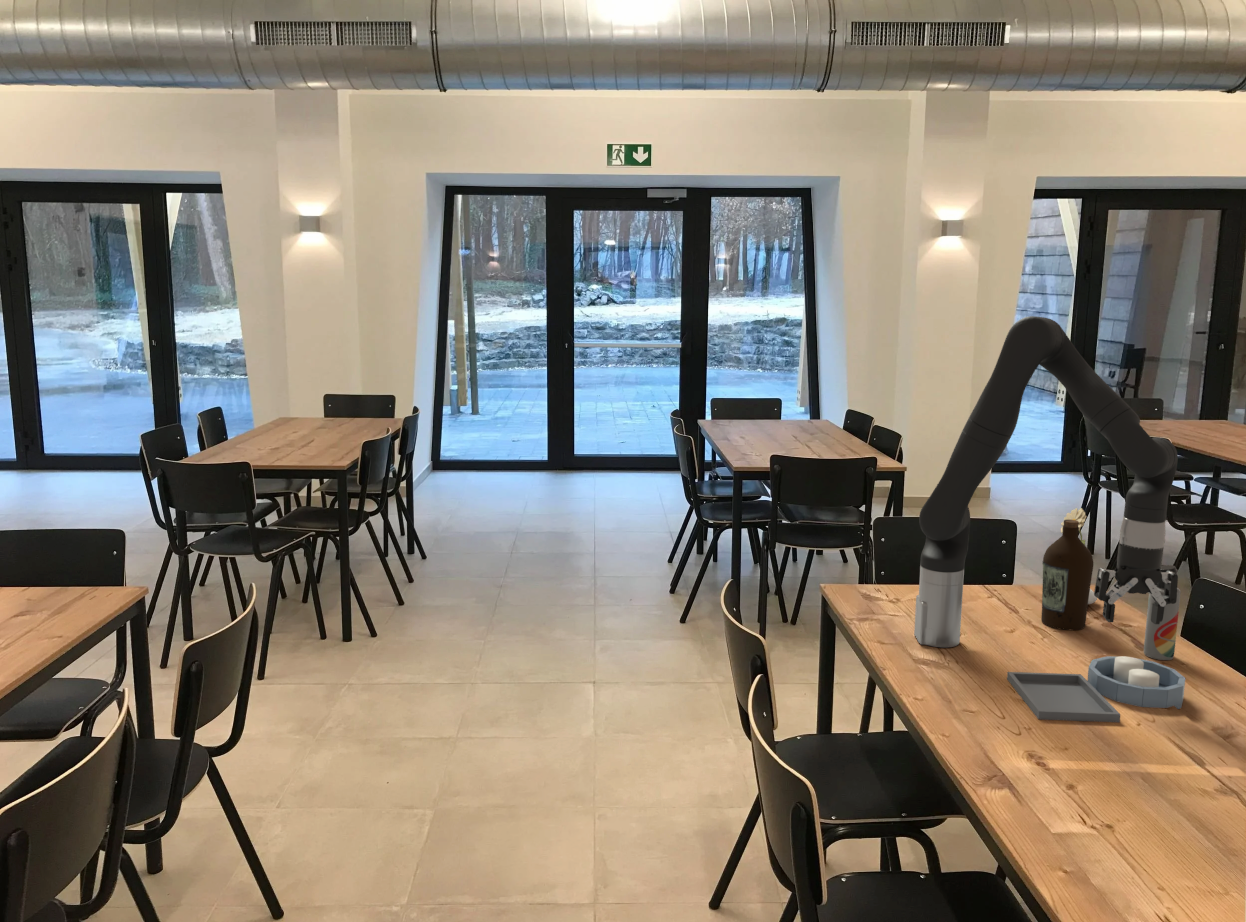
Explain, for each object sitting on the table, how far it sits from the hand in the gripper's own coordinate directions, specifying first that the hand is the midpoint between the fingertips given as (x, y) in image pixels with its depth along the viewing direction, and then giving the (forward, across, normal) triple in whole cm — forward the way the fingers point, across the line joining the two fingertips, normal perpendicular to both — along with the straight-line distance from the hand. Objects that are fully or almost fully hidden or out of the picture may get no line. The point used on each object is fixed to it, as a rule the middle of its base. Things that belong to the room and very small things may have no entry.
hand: (1131, 622), depth 179 cm
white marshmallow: (+12, 0, +6) cm, 14 cm away
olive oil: (+14, -1, -37) cm, 39 cm away
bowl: (+14, -1, +3) cm, 14 cm away
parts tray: (+14, +15, +9) cm, 23 cm away
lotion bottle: (+14, -14, -18) cm, 27 cm away
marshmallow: (+12, 0, 0) cm, 13 cm away
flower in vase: (+14, -9, -53) cm, 55 cm away
